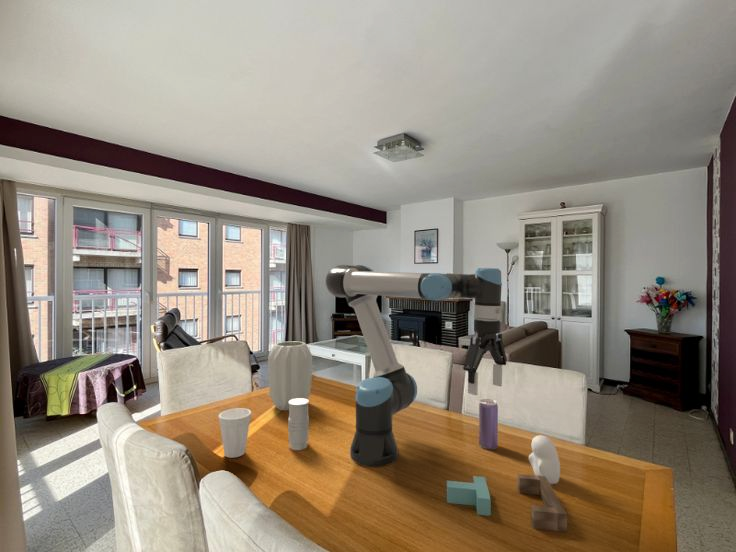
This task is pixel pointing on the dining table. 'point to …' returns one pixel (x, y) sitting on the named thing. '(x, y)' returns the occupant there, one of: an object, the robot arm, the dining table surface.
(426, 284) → the robot arm
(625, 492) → the dining table surface
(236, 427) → the cup
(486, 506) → the t block
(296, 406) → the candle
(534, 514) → the bracket
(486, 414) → the beverage can
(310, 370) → the vase
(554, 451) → the figurine
